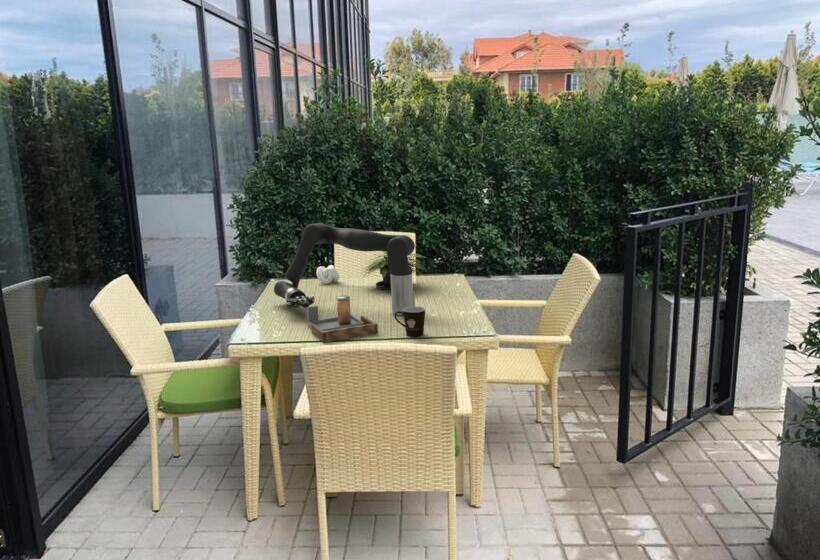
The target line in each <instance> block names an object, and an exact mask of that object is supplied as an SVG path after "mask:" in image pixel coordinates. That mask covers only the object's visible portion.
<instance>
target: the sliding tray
mask: <svg viewBox="0 0 820 560" xmlns="http://www.w3.org/2000/svg"><path fill="white" fill-rule="evenodd" d="M306 311H307V314H306V315H307V326H309V327H310V328H311V324H315V325H316V326H318V327H319V328H320V329H321V330H323V331H328V330H335V329H341V328H347V327H353V326H360V325H365V323H364V322H362V321H361V319H359V318H358V317H356V316H354V315H353V314H351V324H349V325H339V324H338V316H333V317H327V318H321V319H319V307H318V305H309V307H307V308H306Z"/></svg>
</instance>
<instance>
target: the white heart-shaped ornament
mask: <svg viewBox="0 0 820 560" xmlns="http://www.w3.org/2000/svg"><path fill="white" fill-rule="evenodd" d="M316 277H317V280H318V281H319V282H320V283H321V284H323V285H329V284H331V282H332V283H337V282H339V280H340V273H339V272H338V270H337V269H336V268H335V266H334V265H332V264H330V265H328V266H327V267H325V266H319V267H317V269H316Z"/></svg>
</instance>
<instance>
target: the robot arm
mask: <svg viewBox="0 0 820 560" xmlns="http://www.w3.org/2000/svg"><path fill="white" fill-rule="evenodd" d="M320 244H321V245H322V244H334V245H339V246H341V247H343V248H346V249H348V250H352V251H357V252H358V251H359V252H383V251H387V255H388V266H389V269H390V273H391V291H390V292H391V295H390V296H391V298H390V299H391V314H392V315H393V316H395V313H396V312H399V311H400V312H403V309H404V308H407V307H416V293H415V292H416V291H415V290H413V289H414V288H413V272H412V266H409V264H408V257H409V256H410V254H413V252H415V251H414V250H415V248H416V244H415V241H414V239H412V238H411V237H410V236H408V235H405V234H385V233H380V232H377V231H375V232H374V231H370V230H364V229H359V228H358V229H357V228H349V227H348V228H347V227H344V228H342V227H341V228H340V227H335V226H331V225H328V224H324V223H319V222H318V223H310V224H308V225H306V227H305V228H304V230H303V233H302V234H301V238H300V241H299V244H298V247H297V249H296V252H295V255H294V256H293V259H292V261H291V263H290V265H289V267H288V269H287V271H285V272H286V273H285V278H286V279H287V280H288V281H290V282H291V283H289V282H287V281H284V280H278V281H277V282H276V283H275V284H274V287H273V292H274V295H275V296H278V297H279V298H281V299H282V298H283V299H284V300H285V302H286V306H287V307H293V308H304V309H307V307H309V306H312V305H313V304H314V303H315V299H316V298H315V296H313V295H312V296H310V297H309V296H307V295H306V293H305V292H304V291H302V290H301V289H299V284H300V281H301V279H302V278H303V275H304V273H305V272H306V269H307V266H308V260H309V256H310V253H311V251H312V249H313V248H314V247H315V245H320ZM396 316H403V315H402V314H401V313H397V314H396Z"/></svg>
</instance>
